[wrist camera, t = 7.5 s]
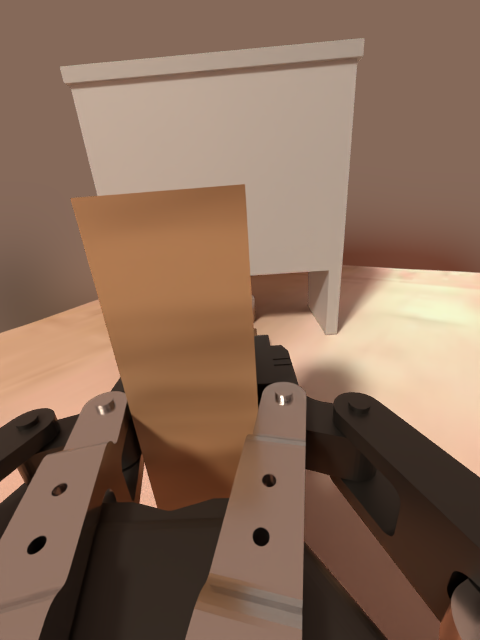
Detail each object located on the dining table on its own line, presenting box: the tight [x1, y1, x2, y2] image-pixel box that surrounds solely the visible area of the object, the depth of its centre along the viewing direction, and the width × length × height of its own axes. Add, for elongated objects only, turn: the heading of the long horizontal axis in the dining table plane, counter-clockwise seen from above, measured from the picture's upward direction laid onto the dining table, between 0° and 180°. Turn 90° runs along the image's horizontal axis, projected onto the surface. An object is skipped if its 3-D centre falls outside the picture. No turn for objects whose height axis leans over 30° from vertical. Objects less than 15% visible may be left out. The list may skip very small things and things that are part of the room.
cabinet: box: [60, 38, 364, 335], centre depth 30 cm, size 10×23×24 cm, turn 90°
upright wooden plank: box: [71, 184, 258, 511], centre depth 17 cm, size 18×4×14 cm, turn 0°
